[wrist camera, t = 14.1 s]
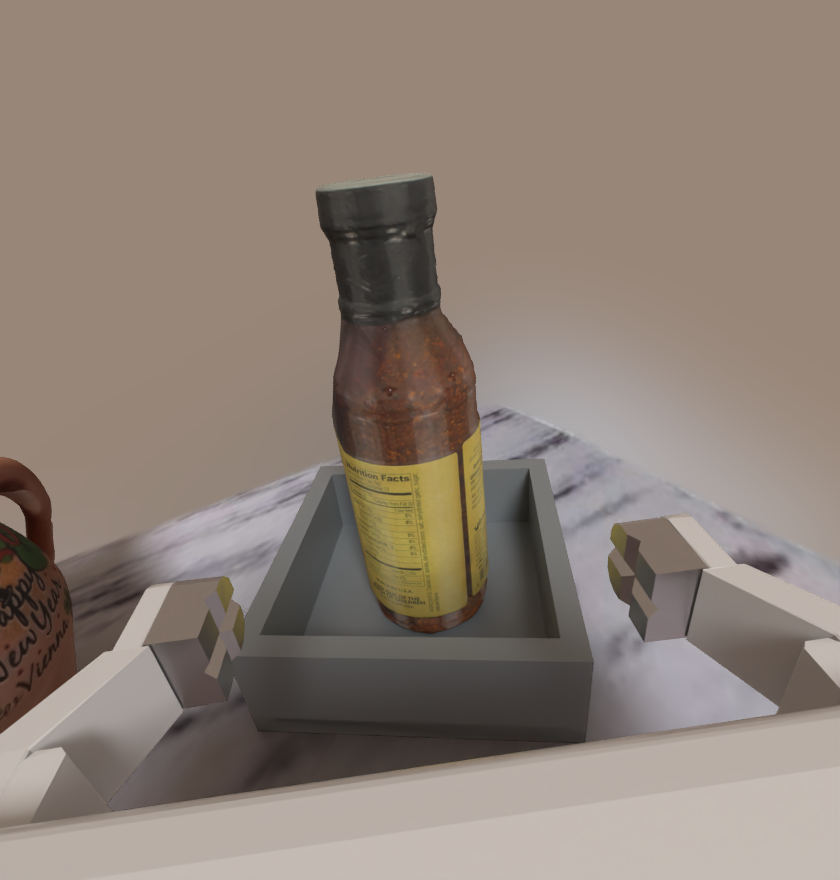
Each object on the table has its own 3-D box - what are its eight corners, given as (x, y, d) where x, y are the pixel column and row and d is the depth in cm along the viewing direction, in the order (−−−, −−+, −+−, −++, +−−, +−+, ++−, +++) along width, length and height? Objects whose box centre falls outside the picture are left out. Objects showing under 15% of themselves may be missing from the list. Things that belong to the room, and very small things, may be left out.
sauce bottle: (437, 538, 30) (405, 172, 21) (514, 595, 26) (519, 163, 16) (346, 594, 27) (257, 188, 17) (417, 670, 23) (351, 181, 13)
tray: (258, 730, 22) (225, 656, 19) (334, 528, 34) (320, 466, 32) (585, 742, 20) (593, 662, 18) (542, 524, 32) (544, 458, 30)
